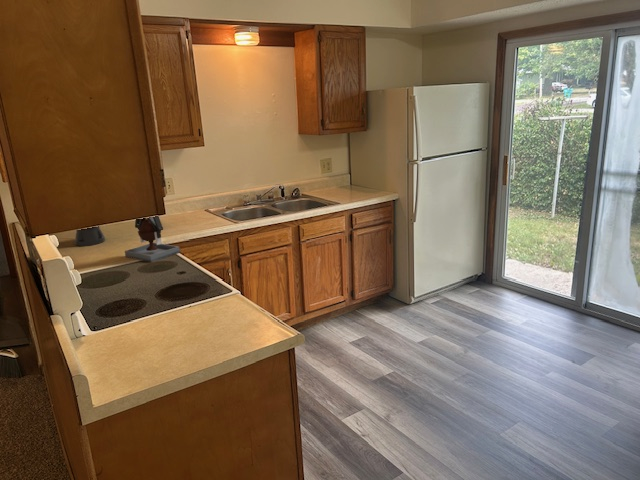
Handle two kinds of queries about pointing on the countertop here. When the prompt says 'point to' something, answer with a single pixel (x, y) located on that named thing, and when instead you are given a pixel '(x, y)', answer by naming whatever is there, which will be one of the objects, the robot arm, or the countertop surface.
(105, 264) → the countertop surface
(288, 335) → the countertop surface
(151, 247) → the ice cream bowl
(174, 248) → the serving tray
